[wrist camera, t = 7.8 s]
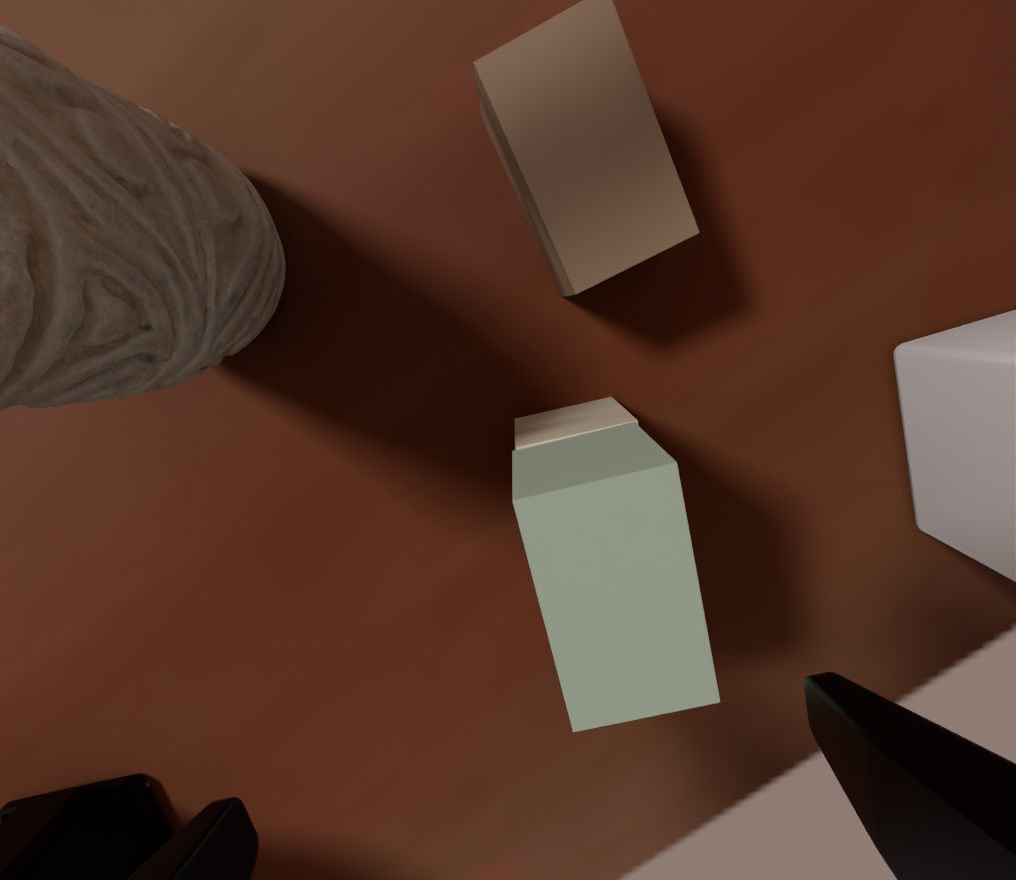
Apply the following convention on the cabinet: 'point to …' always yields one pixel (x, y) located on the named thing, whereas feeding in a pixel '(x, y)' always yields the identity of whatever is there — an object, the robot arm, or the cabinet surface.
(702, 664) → the sage brick
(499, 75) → the walnut brick
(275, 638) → the cabinet surface
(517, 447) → the birch brick
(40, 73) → the carving
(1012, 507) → the medicine bottle
